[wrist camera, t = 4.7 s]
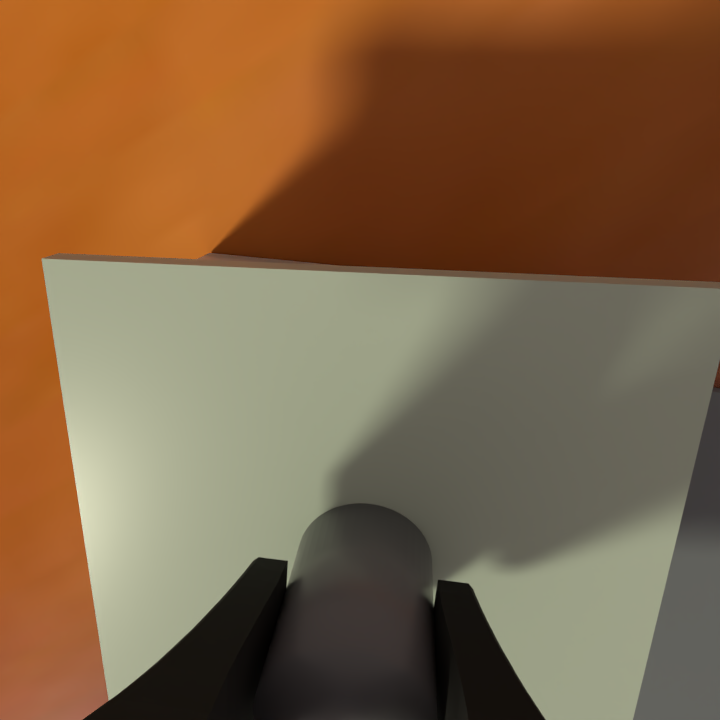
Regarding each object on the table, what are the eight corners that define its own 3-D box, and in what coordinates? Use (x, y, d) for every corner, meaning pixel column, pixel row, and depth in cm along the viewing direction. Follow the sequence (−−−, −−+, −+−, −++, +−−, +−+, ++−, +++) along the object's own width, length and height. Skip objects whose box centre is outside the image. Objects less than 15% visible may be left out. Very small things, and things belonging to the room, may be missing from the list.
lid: (607, 772, 16) (678, 1008, 12) (125, 723, 17) (24, 923, 13) (720, 281, 11) (904, 366, 7) (58, 253, 12) (-132, 312, 8)
